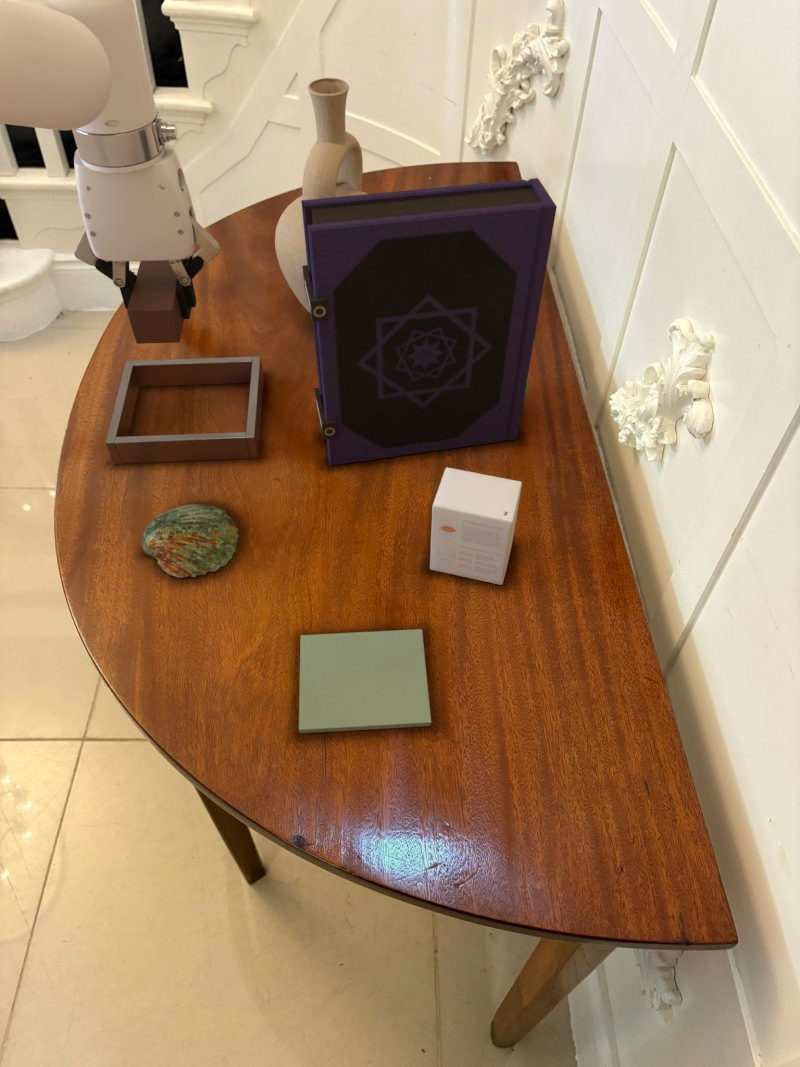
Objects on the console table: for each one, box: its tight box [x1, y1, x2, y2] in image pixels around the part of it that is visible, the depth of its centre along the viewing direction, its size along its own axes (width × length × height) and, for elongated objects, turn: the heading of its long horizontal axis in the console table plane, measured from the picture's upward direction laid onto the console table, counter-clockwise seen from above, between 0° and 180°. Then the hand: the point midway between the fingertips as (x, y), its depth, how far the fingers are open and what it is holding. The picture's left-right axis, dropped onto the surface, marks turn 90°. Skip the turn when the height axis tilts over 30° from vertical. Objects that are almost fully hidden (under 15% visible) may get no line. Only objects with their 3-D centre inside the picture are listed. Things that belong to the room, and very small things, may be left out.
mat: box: [298, 628, 432, 734], centre depth 74 cm, size 12×10×1 cm
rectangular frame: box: [105, 355, 265, 465], centre depth 96 cm, size 17×15×4 cm
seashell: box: [141, 503, 240, 579], centre depth 83 cm, size 10×4×10 cm
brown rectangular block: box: [126, 260, 185, 345], centre depth 83 cm, size 4×10×4 cm, turn 4°
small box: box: [429, 467, 523, 586], centre depth 79 cm, size 8×6×10 cm
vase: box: [274, 77, 368, 314], centre depth 100 cm, size 17×17×30 cm
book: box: [301, 177, 558, 467], centre depth 83 cm, size 24×6×30 cm, turn 102°
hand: (163, 310), depth 84 cm, fingers closed on brown rectangular block, 4 cm apart
